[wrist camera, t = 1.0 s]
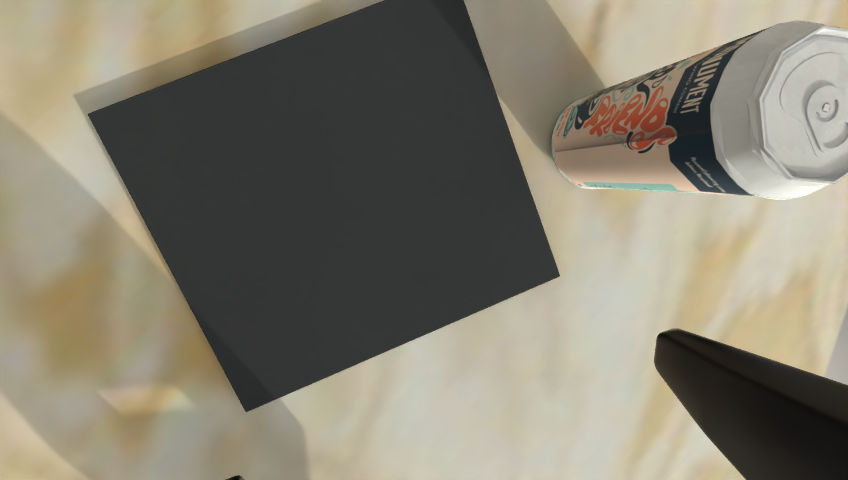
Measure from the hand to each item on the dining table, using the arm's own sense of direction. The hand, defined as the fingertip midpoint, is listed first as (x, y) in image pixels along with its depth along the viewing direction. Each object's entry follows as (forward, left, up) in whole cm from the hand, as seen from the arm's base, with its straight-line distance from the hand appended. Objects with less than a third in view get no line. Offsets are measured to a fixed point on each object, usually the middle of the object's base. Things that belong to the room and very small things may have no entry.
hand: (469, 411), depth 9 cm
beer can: (+2, -11, -14) cm, 18 cm away
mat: (+4, +2, -14) cm, 15 cm away
